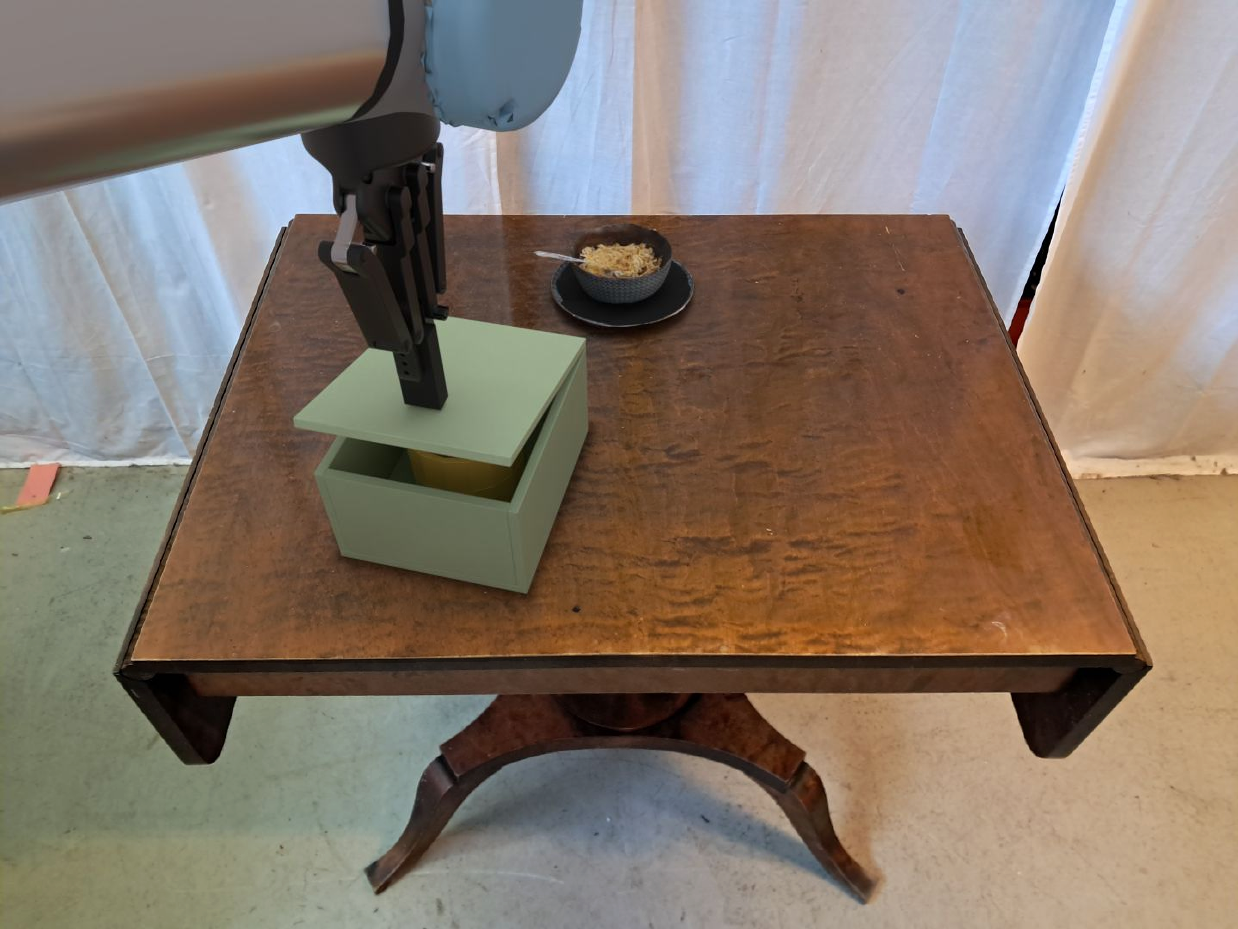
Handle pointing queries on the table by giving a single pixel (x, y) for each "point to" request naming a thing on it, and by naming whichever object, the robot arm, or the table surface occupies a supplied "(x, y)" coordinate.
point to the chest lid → (453, 393)
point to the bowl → (467, 474)
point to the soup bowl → (620, 277)
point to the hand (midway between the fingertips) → (426, 399)
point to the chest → (455, 502)
